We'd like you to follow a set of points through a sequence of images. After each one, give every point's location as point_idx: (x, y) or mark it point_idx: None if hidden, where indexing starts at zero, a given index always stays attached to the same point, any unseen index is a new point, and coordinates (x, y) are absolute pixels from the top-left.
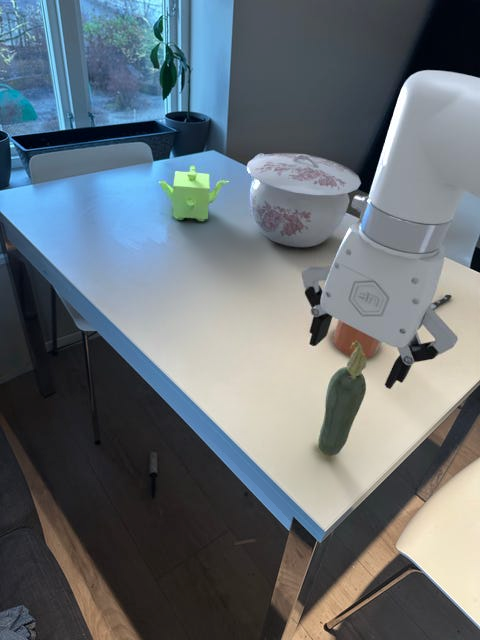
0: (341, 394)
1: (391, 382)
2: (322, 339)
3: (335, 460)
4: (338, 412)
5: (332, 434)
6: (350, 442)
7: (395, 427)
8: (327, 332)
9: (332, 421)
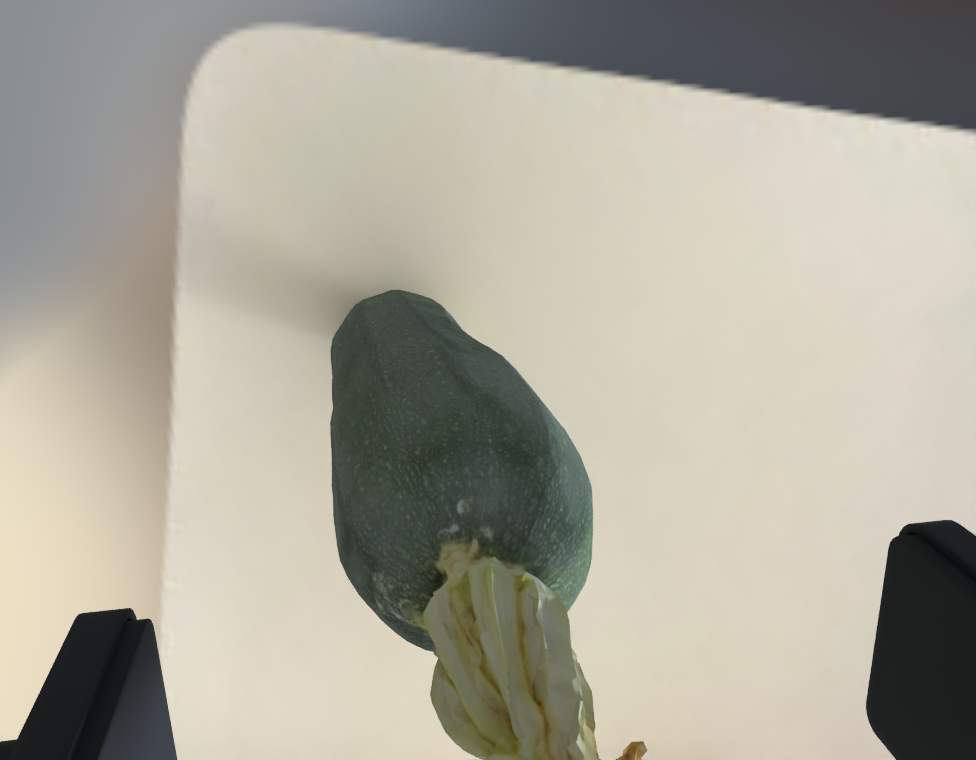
0: (453, 408)
1: (66, 663)
2: (875, 655)
3: None
4: (411, 354)
5: (389, 312)
6: None
7: (253, 659)
8: (889, 744)
9: (419, 327)
